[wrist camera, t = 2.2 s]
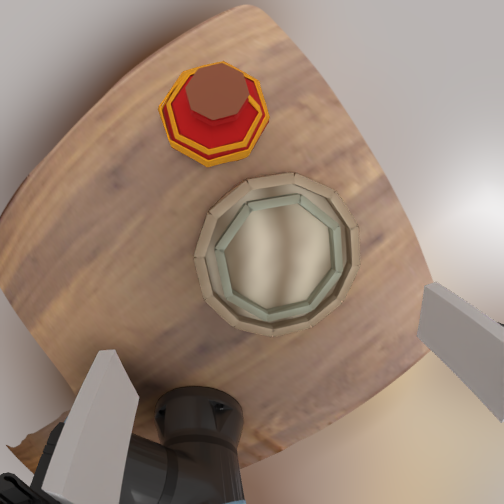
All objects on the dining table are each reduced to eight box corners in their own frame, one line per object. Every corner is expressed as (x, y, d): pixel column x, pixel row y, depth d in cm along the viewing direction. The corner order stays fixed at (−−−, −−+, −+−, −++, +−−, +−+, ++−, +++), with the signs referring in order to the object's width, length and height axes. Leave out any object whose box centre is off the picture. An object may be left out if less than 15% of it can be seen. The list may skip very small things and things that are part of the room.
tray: (216, 336, 38) (217, 348, 35) (182, 191, 32) (179, 193, 29) (351, 305, 39) (360, 314, 37) (343, 165, 33) (353, 165, 31)
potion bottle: (264, 90, 29) (302, 39, 15) (253, 172, 32) (285, 176, 18) (176, 80, 28) (152, 23, 13) (163, 164, 30) (125, 162, 16)
